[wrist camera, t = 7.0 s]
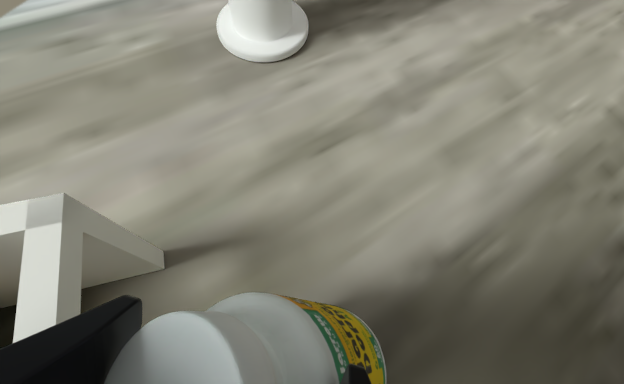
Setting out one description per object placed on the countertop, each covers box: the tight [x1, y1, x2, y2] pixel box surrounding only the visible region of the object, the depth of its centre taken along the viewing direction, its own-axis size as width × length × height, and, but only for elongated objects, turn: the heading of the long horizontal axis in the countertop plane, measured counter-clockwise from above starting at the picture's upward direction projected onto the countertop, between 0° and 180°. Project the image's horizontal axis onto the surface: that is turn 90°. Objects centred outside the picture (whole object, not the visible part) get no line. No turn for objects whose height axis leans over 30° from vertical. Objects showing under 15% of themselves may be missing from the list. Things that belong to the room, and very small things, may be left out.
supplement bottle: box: [104, 292, 386, 384], centre depth 10 cm, size 5×5×10 cm
